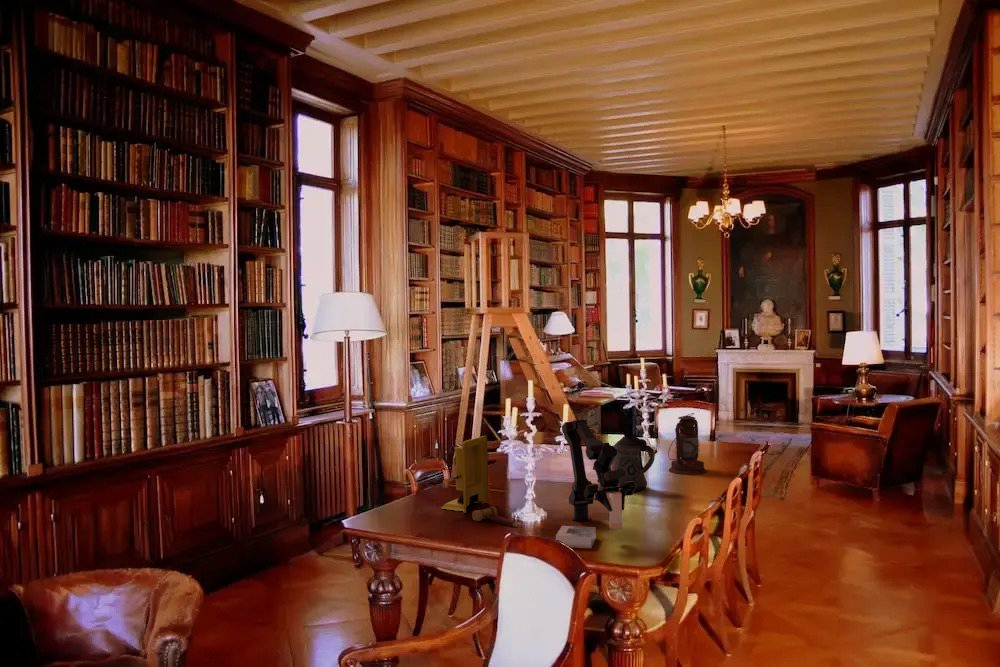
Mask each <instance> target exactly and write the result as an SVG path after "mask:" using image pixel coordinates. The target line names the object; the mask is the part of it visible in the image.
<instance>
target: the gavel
mask: <svg viewBox="0 0 1000 667" xmlns="http://www.w3.org/2000/svg"><path fill="white" fill-rule="evenodd" d="M471 513H472V514H471V519H472V520H473V521H474V520H477V521H479V522H482V521H483V520H482V519H485V520H488V519H489V520H491V521H492V522H495V523H498V524H501V525H503V524H504V525H503V526H506V525H507V527H510V526H511V528H517V527H518V524H517V523H516V522H515V521H513V520H512V519H508V518H505V517H503V516H500V515H498V509H497V507H496V506H489V507H486V508H483V509H476V510H473V511H472V512H471ZM487 518H488V519H487ZM481 520H482V521H481Z"/></svg>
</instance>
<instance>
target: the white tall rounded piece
mask: <svg viewBox="0 0 1000 667" xmlns="http://www.w3.org/2000/svg"><path fill="white" fill-rule="evenodd" d="M608 496H609V497H608V500H609V503H610V506H611V509H612V511H611V512H610V511H609V510H608V512H609V514H608V515H609V517H608V518H609V525H608V526H609V529H610V530H615V531H618V530H619V531H620V530H622V529H623V511H622V493H621V492H610V493H608Z"/></svg>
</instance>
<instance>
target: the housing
mask: <svg viewBox="0 0 1000 667" xmlns="http://www.w3.org/2000/svg"><path fill="white" fill-rule="evenodd" d="M596 539H597V530H596V526H595V527H593V526H575V525H561V526H560V529H559V530H558V531H557V533H556V534H555V541H556V540H559V541H561V542H563V543H565V544H567V545H568V546H570V547H569V548H577V549H592V547H593V545H594V544H595V541H596Z"/></svg>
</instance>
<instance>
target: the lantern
mask: <svg viewBox="0 0 1000 667" xmlns="http://www.w3.org/2000/svg"><path fill="white" fill-rule="evenodd" d="M693 415H695V413H694V412H692V413H689V414H687V415H682V416H679V417H677V419H679V421H678V422H677V423H676V426H675V429H674V431H675V438H674V440H673V441H672V442H671V443H670V446H669V448H668V452H667V456H668V457H667V458H669V460H671V463H670V464H671V466H670V468H669V469H668V472H669V473H670V474H675V475H681V476H697V475H698V476H699V475H704V474H706V473H708V470H707V469H706V468H705V462H704V461H701V460H699V451H701V449H700V445H701V444H700V443H701V442H700V439H699V424H698V423H699V422H698V420H697V418H696V417H695V416H693ZM674 443H675V448H674V449H675V450H674V452H675V454H676V458H674V459H671V458H670V450H671V447H672V446H673V444H674Z"/></svg>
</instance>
